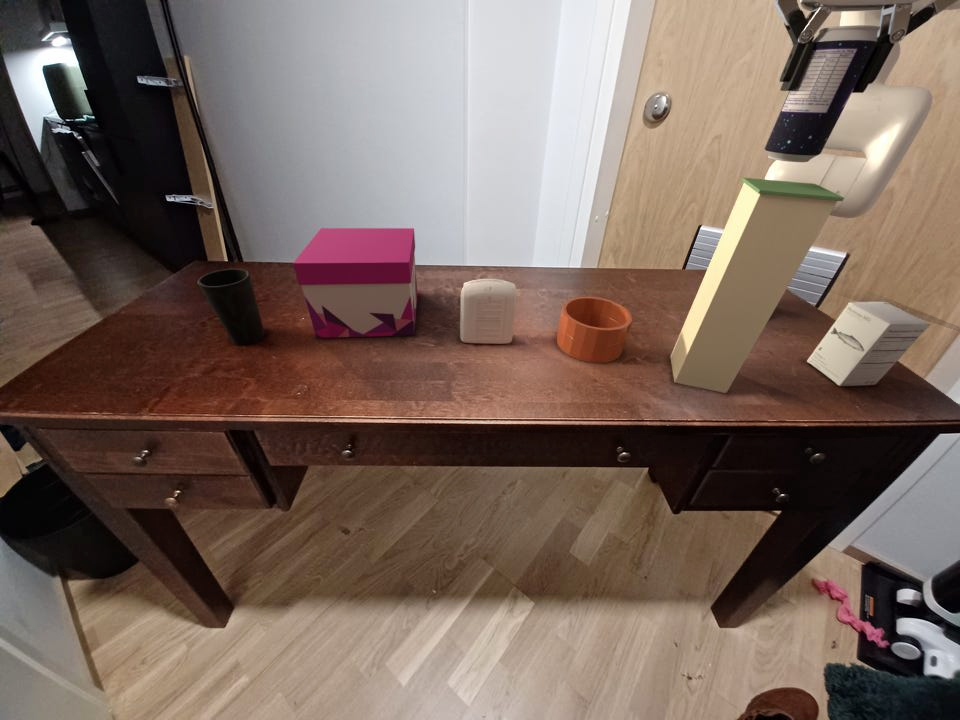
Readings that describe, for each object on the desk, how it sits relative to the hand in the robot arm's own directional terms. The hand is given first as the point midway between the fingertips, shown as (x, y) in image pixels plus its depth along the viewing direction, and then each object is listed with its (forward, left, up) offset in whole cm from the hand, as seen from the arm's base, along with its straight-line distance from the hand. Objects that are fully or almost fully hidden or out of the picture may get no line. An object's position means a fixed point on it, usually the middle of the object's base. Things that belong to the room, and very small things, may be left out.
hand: (820, 89), depth 41 cm
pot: (+13, -12, -40) cm, 44 cm away
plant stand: (-1, +1, -40) cm, 40 cm away
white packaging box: (-27, +7, -40) cm, 49 cm away
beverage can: (0, 0, -7) cm, 7 cm away
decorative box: (+53, -33, -40) cm, 74 cm away
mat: (-1, +1, -10) cm, 10 cm away
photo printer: (+32, -18, -40) cm, 55 cm away
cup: (+76, -29, -40) cm, 91 cm away
